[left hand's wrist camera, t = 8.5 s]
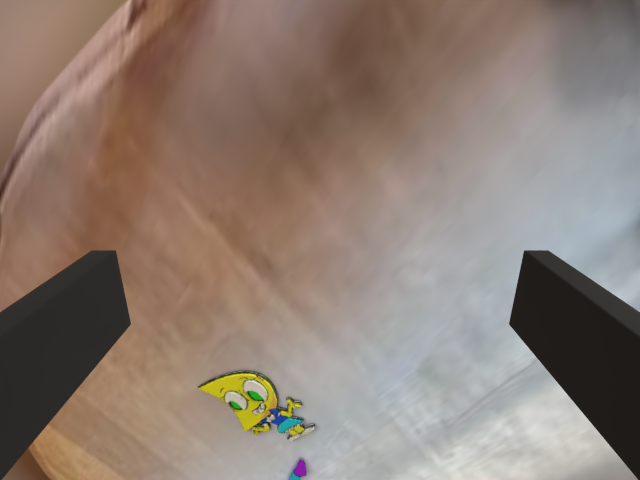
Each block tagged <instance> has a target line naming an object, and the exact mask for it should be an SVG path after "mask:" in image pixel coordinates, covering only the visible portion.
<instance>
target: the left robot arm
mask: <svg viewBox="0 0 640 480" xmlns="http://www.w3.org/2000/svg"><path fill="white" fill-rule="evenodd" d="M130 325H131V322H130V318H129V313H128V308H127V303H126V298H125V293H124V288H123V284H122V279H121V274H120V269H119V264H118V259H117V254H116V251H91V252H89V253H88V254H86V255H85V256H83V257H82V258H80V259H79V260H77V261H76V262H74V263H73V264H71V265H70V266H68V267H67V268H65V269H64V270H62V271H61V272H59V273H58V274H56V275H55V276H54V277H52V278H51V279H49V280H48V281H46V282H45V283H43V284H42V285H40V286H39V287H37V288H36V289H34V290H33V291H31V292H30V293H28V294H27V295H25V296H24V297H22V298H21V299H19V300H18V301H16V302H15V303H13V304H12V305H11V306H9V307H8V308H6V309H5V310H3V311H2V312H0V480H2V479H3V477H4V476H5V475H6V474H7V473H8V471H9V470H10V469H11V468H12V466H13V465H14V464H15V463H16V462H17V460H18V459H19V458H20V457H21V456H22V454H23V453H24V452H25V451H26V450H27V448H28V447H29V446H30V445H31V444H32V442H33V441H34V440H35V439H36V438H37V436H38V435H39V434H40V433H41V432H42V430H43V429H44V428H45V427H46V426H47V424H48V423H49V422H50V421H51V420H52V418H53V417H54V416H55V415H56V414H57V412H58V411H59V410H60V409H61V408H62V406H63V405H64V404H65V403H66V402H67V400H68V399H69V398H70V397H71V396H72V394H73V393H74V392H75V391H76V390H77V388H78V387H79V386H80V385H81V384H82V382H83V381H84V380H85V379H86V377H87V376H88V375H89V374H90V373H91V371H92V370H93V369H94V368H95V367H96V365H97V364H98V363H99V362H100V361H101V359H102V358H103V357H104V356H105V355H106V353H107V352H108V351H109V350H110V349H111V347H112V346H113V345H114V344H115V343H116V341H117V340H118V339H119V338H120V337H121V335H122V334H123V333H124V332H125V331H126V329H127V328H128V327H129V326H130ZM509 325H510V326H511V327H512V328H513V329H514V331H515V332H516V333H517V334H518V335H519V337H520V338H521V339H522V340H523V341H524V343H525V344H526V345H527V346H528V347H529V349H530V350H531V351H532V352H533V353H534V355H535V356H536V357H537V358H538V359H539V361H540V362H541V363H542V364H543V365H544V367H545V368H546V369H547V370H548V371H549V373H550V374H551V375H552V376H553V377H554V379H555V380H556V381H557V382H558V384H559V385H560V386H561V387H562V388H563V390H564V391H565V392H566V393H567V394H568V396H569V397H570V398H571V399H572V400H573V402H574V403H575V404H576V405H577V406H578V408H579V409H580V410H581V411H582V412H583V414H584V415H585V416H586V417H587V418H588V420H589V421H590V422H591V423H592V424H593V426H594V427H595V428H596V429H597V430H598V432H599V433H600V434H601V435H602V436H603V438H604V439H605V440H606V441H607V442H608V444H609V445H610V446H611V447H612V448H613V450H614V451H615V452H616V453H617V454H618V456H619V457H620V458H621V459H622V460H623V462H624V463H625V464H626V465H627V467H628V468H629V469H630V470H631V471H632V473H633V474H634V475H635V476H636V477H637V479H638V480H640V312H638V311H637V310H635V309H634V308H632V307H631V306H629V305H628V304H627V303H625V302H624V301H622V300H621V299H619V298H618V297H616V296H615V295H613V294H612V293H610V292H609V291H607V290H606V289H604V288H603V287H601V286H600V285H598V284H597V283H595V282H594V281H592V280H591V279H589V278H588V277H586V276H585V275H584V274H582V273H581V272H579V271H578V270H576V269H575V268H573V267H572V266H570V265H569V264H567V263H566V262H564V261H563V260H561V259H560V258H558V257H557V256H555V255H554V254H552V253H551V252H549V251H524V254H523V259H522V264H521V269H520V274H519V279H518V284H517V288H516V293H515V298H514V303H513V308H512V313H511V318H510V322H509Z"/></svg>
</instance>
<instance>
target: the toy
mask: <svg viewBox="0 0 640 480" xmlns="http://www.w3.org/2000/svg"><path fill="white" fill-rule="evenodd" d="M259 379H260V380H259ZM211 384H212V385H211ZM255 384H256V385H255ZM198 388H199V389H200V390H202V391H204V392H207V393H209V394H211V395H213V396H215V397H217V398H221V400H222V401H223V402H225V403H227V405H228V406H230V407H231V409H232V410H233V411H234V412H235V414H236V415H237V417H238V418H239V420H240V422H241V424H242V427H243V430H244V432H245V431H247V430H249V429H250V428H252V430H253V431H254V434H256V435H257V434H258V433H259V431H268V430H270V424H269V423H268V422H271V423H273V424H276V425H278V432H279V433H281V435H282V434H283V432H284V434H285V432H287V431H289V433H290V434H291V435H289V436H288V437H287V439H288V442H291V441H293V440H295V439H297V438H299V437H300V435H304V434H308V433H309V432H311V431H313V430H314V427H315V424H311V425H308V426H306V427H304V426H303V425H301V424H302V423H303V419H300V418H297V417H296V418H295V417H291V416H292V414H293V412H292V410H293V408H297V407H300V406H301V405H302V404H301V402H300V401H293V400H292V399H291V398H287V399H286V400H287V402H288V409H287V410H286V409H282V408H278V407H277V406H278V395H277V393H276V390H275V388H274V386H273V384H272V383H271V382H270V381H269V380H268V379H267V378H266V377H264V376H263V375H261V374H259V373H256V372H250V371H249V372H248V371H240V372H232V373H229V374H225V375H222V376H219V377H216V378H214V379H211V380H210V381H208V382H206V383H204V384H202V385H200V386H199V387H198ZM220 389H221V390H220ZM223 391H224V392H223ZM243 391H244V393H245V394H246V395H245V394H244V393H243ZM265 396H266V397H265ZM253 397H254V398H253ZM271 399H272V400H271ZM231 401H232V402H231ZM244 401H245V402H244ZM289 402H290V403H289ZM245 404H246V406H245ZM248 404H249V405H248ZM269 404H270V405H269ZM269 406H270V407H269ZM289 406H290V407H289ZM276 413H277V414H276ZM284 413H285V414H284ZM282 414H283V415H282ZM290 414H291V416H290ZM285 417H286V418H285ZM260 421H261V423H262V424H263V425H256V424H257V423H259V422H260ZM265 421H266V422H265ZM280 422H281V423H280ZM297 422H298V423H297Z"/></svg>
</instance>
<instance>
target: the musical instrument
mask: <svg viewBox="0 0 640 480" xmlns="http://www.w3.org/2000/svg"><path fill="white" fill-rule="evenodd" d="M301 476H306V468H305V464H304V462H303V461H302V460H300V461H299V463H298V465H297V467H296V468H295V470H293V472H292V474H291V476H290V478H289V480H300V478H301Z"/></svg>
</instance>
